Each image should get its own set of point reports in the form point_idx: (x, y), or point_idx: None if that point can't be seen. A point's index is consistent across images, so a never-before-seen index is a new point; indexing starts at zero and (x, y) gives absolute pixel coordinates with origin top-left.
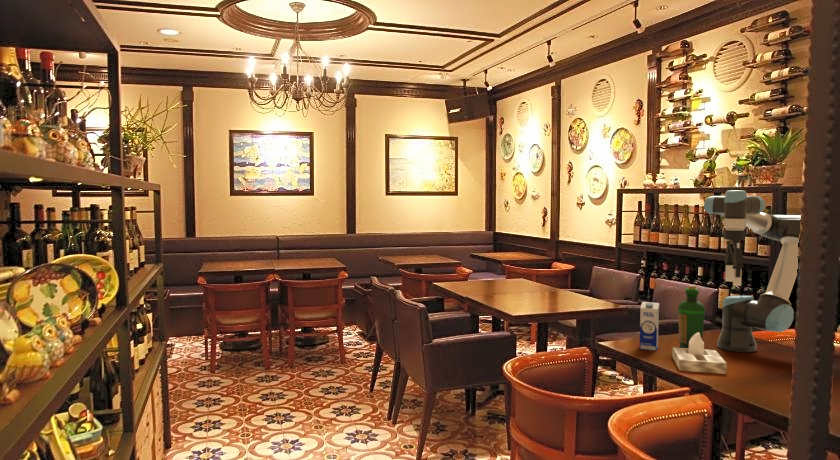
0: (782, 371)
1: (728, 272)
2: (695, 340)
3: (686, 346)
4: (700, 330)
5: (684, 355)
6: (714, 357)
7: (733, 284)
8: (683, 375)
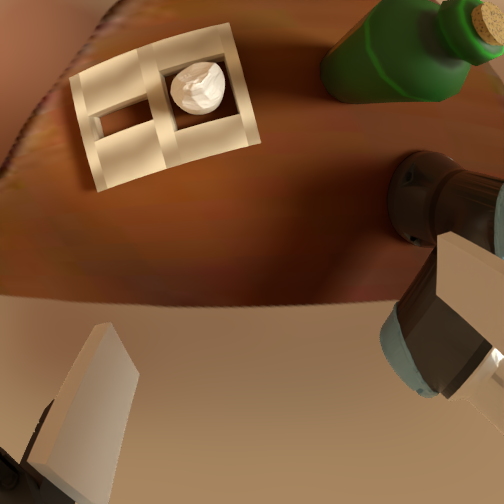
0: (222, 303)
1: (494, 298)
2: (175, 83)
3: (323, 60)
4: (359, 91)
5: (127, 71)
6: (149, 151)
7: (93, 332)
8: (44, 104)
